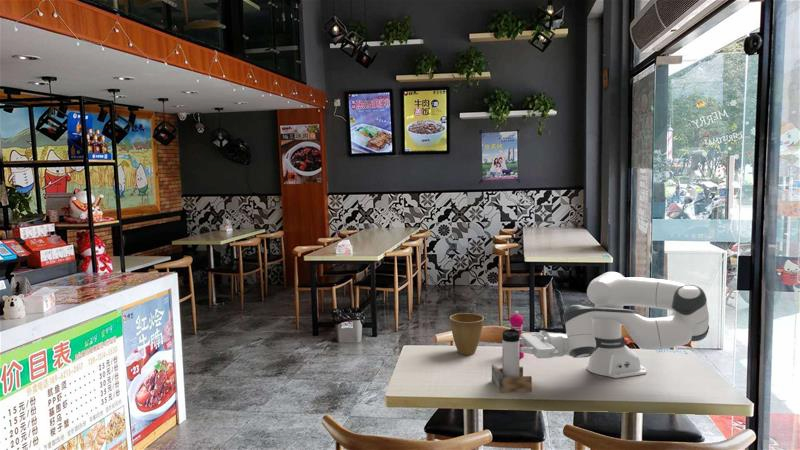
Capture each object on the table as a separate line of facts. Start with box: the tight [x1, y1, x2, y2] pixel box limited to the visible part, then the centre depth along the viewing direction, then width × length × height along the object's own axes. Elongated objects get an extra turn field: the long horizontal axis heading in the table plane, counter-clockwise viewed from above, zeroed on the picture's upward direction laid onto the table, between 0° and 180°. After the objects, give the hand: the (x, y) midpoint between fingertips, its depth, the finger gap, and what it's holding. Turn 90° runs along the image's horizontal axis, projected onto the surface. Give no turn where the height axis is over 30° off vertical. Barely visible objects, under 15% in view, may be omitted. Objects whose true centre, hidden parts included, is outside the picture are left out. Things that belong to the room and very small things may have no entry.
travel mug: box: [501, 328, 520, 377], centre depth 226 cm, size 6×7×20 cm
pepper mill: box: [509, 310, 526, 359], centre depth 260 cm, size 7×7×20 cm
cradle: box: [491, 363, 533, 394], centre depth 227 cm, size 12×12×7 cm
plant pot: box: [449, 312, 485, 356], centre depth 266 cm, size 15×15×16 cm
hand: (516, 346), depth 226 cm, fingers open, 8 cm apart
